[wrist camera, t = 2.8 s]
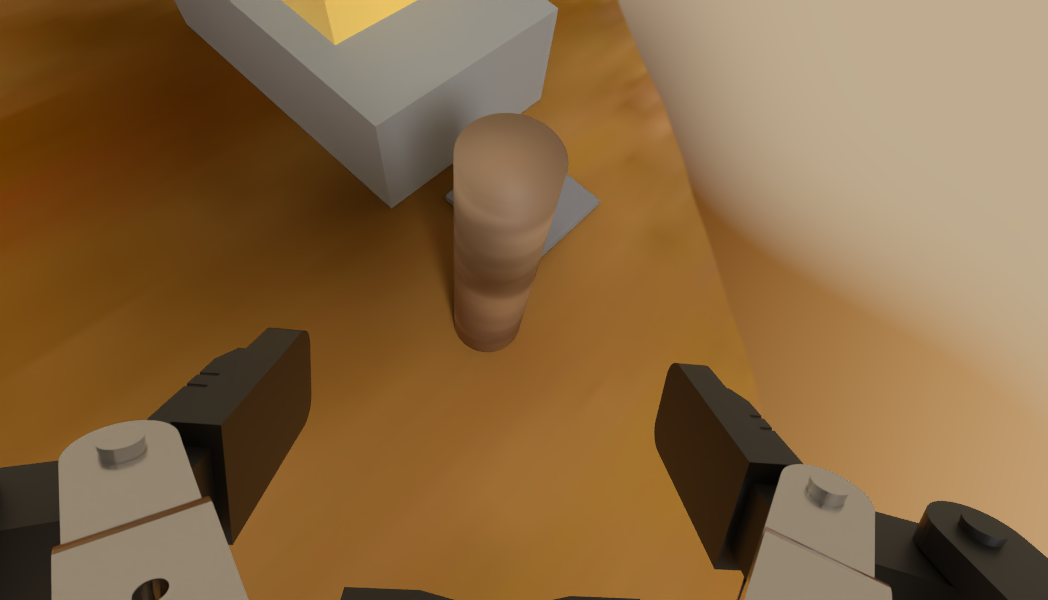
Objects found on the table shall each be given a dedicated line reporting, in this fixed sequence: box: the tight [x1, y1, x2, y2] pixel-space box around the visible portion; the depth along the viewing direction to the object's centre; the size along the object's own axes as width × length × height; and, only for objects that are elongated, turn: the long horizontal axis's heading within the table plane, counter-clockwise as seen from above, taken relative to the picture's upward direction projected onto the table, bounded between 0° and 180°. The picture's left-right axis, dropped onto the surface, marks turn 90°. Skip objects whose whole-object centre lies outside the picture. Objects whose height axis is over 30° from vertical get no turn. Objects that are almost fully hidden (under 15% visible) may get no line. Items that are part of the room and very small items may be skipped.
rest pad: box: [446, 174, 600, 257], centre depth 28 cm, size 6×6×1 cm
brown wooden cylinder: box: [453, 113, 568, 352], centre depth 20 cm, size 3×3×12 cm
